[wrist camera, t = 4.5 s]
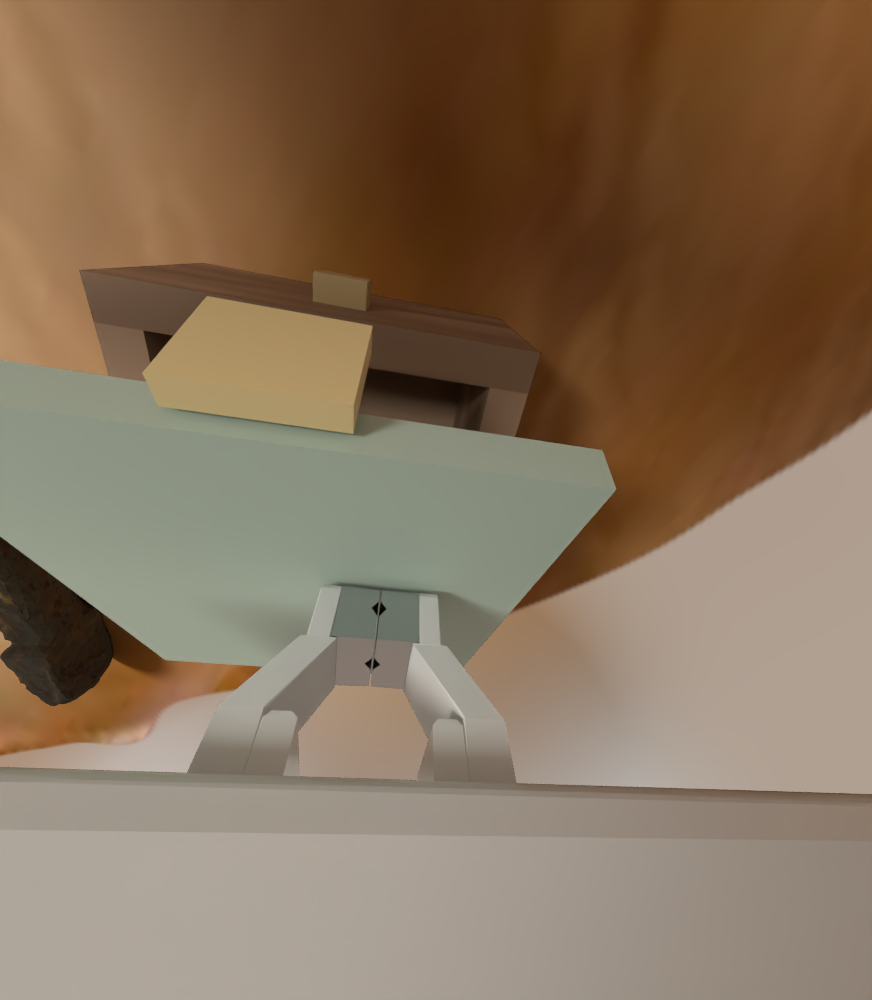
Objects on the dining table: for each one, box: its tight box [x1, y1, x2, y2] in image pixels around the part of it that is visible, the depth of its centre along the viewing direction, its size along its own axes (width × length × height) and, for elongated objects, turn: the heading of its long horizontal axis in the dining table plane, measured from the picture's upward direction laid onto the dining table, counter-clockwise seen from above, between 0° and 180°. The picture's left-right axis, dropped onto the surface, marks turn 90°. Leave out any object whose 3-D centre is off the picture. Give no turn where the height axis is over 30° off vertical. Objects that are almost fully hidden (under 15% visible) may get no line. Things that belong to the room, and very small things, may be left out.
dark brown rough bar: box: [0, 537, 113, 706], centre depth 21 cm, size 19×4×5 cm, turn 175°
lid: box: [0, 296, 616, 674], centre depth 12 cm, size 15×12×3 cm
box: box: [79, 263, 541, 437], centre depth 16 cm, size 15×12×6 cm
